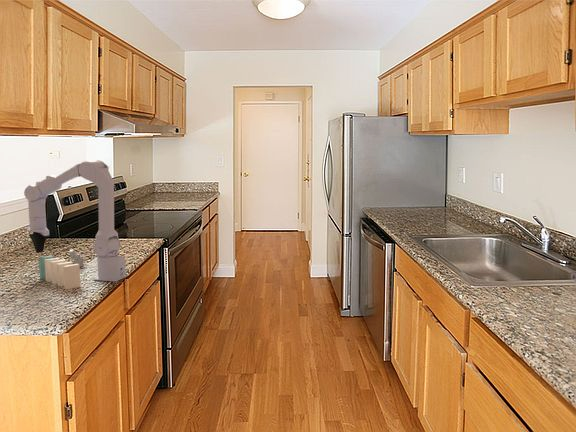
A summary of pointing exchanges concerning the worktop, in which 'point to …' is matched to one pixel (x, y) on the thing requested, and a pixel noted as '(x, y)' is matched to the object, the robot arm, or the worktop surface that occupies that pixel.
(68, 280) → the domino
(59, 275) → the domino
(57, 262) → the domino
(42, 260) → the end tile
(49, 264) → the domino
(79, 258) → the grey angular flat piece
